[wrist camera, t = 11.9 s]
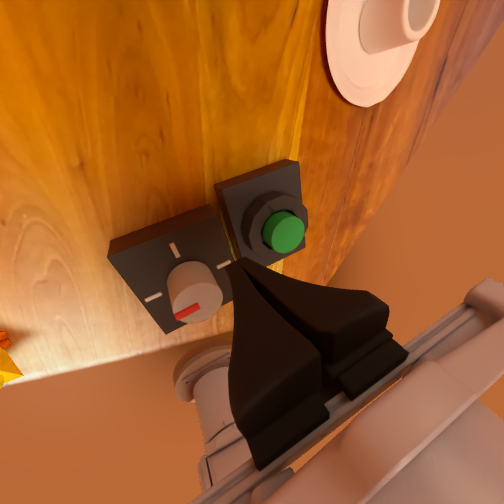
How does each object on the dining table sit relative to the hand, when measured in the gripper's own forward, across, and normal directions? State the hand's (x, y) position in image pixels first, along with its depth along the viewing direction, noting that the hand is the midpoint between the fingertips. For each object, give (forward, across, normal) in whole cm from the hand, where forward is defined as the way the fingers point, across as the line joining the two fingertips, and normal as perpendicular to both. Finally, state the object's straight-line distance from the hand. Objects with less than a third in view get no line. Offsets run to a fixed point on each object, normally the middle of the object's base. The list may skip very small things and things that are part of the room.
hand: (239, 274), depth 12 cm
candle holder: (+11, -21, -11) cm, 26 cm away
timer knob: (+7, +3, +4) cm, 9 cm away
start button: (+7, -6, +3) cm, 10 cm away
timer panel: (+10, +3, +4) cm, 12 cm away
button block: (+10, -6, +3) cm, 13 cm away
